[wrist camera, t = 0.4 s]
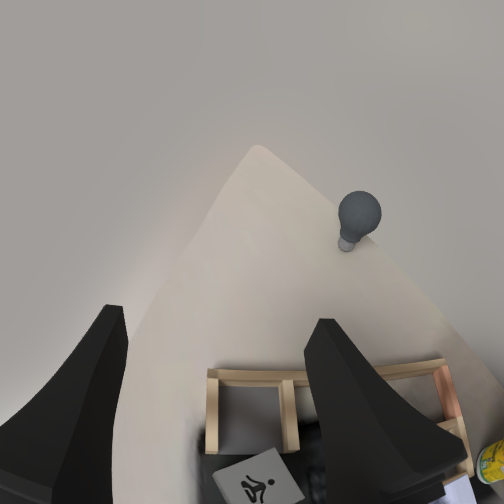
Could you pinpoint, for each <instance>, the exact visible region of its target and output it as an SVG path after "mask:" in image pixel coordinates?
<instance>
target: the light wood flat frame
mask: <svg viewBox="0 0 504 504" xmlns="http://www.w3.org/2000/svg"><path fill="white" fill-rule="evenodd" d="M373 368H374V369H375V370H376V372H377V373H378V374H379V375H380V376H381V377H382V378H383V379H384V380H393V379H401V378H408V377H414V376H420V375H426V374H432V373H433V377H434V380H435V383H436V387H437V390H438V394H439V398H440V401H441V405H442V409H443V413H444V417H445V421H444V422H441V423H438V424H437V425H438V426H440V427H441V428H443V429H445V430H446V431H448V432H450V433H452V434H454V435H456V436H457V437H459V438H461V439H462V440H463V443H464V446H465V448H466V451H467V454H468V458H467V459H466V460H464V461H463V462H461V463H460V464H458V465H456V466H455V467H453V468H451V469H449V470H447V471H446V472H444V474H445V477H446V478H445V480H443V481H442V483H443V485H445V484H447V483H449V482H451V481H453V480H455V479H457V478H459V477H461V476H463V475H464V474H467V475H468V478H470V477H472V476H474V469H473V463H472V458H471V453H470V448H469V443H468V439H467V434H466V430H465V426H464V422H463V418H462V414H461V410H460V406H459V402H458V399H457V395H456V392H455V389H454V385H453V382H452V379H451V375H450V372H449V369H448V366H447V363H446V360H445V358H443V359H436V360H430V361H422V362H415V363H407V364H398V365H389V366H378V367H373ZM294 387H310V385H309V381H308V377H307V372H306V371H252V370H225V369H208V372H207V400H206V454H225V455H259V454H261V453H263V452H265V451H268V450H270V449H272V448H274V447H275V448H276V450H277V452H278V454H283V453H294V452H296V451H298V450H300V447H299V436H298V426H297V416H296V406H295V396H294Z"/></svg>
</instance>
